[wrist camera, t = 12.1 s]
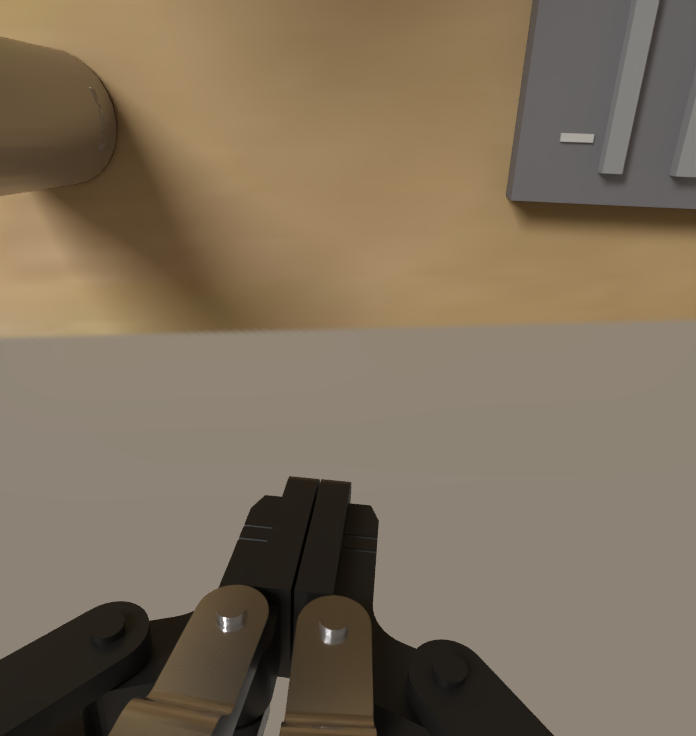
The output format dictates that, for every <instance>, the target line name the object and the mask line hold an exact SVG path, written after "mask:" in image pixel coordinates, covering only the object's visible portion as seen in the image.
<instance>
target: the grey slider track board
mask: <svg viewBox="0 0 696 736" xmlns="http://www.w3.org/2000/svg"><path fill="white" fill-rule="evenodd" d="M506 197H507V198H508V199H510V200H511V201H532V202H553V203H575V204H596V205H617V206H639V207H660V208H682V209H696V0H533V3H532V11H531V18H530V25H529V32H528V40H527V47H526V54H525V61H524V69H523V76H522V83H521V90H520V97H519V105H518V112H517V119H516V126H515V134H514V141H513V148H512V155H511V162H510V170H509V177H508V184H507V191H506Z"/></svg>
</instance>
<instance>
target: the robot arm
mask: <svg viewBox="0 0 696 736" xmlns="http://www.w3.org/2000/svg"><path fill="white" fill-rule="evenodd" d="M116 136H117V134H116V118H115V114H114V109H113V105H112V103H111V100H110V98H109V95H108V93H107V91H106V89H105V88H104V86H103V85H102V83H101V81H100V80H99V78H98V77H97V76H96V75H95V74H94V73H93V71H92V70H91V69H90V68H89V67H88V66H86V65H85V64H84V63H83V62H81V61H80V60H79V59H78V58H76V57H74V56H72V55H70V54H68V53H66V52H64V51H60V50H56V49H52V48H48V47H44V46H39V45H35V44H30V43H26V42H22V41H18V40H13V39H9V38H4V37H0V196H4V195H11V194H17V193H23V192H29V191H36V190H42V189H50V188H56V187H61V186H67V185H73V184H79V183H84V182H86V181H88V180H90V179H92V178H94V177H95V176H97V175H98V174H99V173H100V172H101V171H103V169H104V168H105V166H106V165H107V164H108V162H109V161H110V158H111V156H112V153H113V151H114V148H115V142H116ZM350 500H351V482H344V481H334V480H323V479H322V480H321V482H320V480H319V479H311V478H301V477H291V476H290V477H289V479H288V481H287V484H286V487H285V490H284V493H283V496H282V497H278V496H268V495H265V496H264V497H263V498H262V499H261V500H259V501H258V502H257V503H256V504H255V505H254V506H253V507H252V508H251V510H250V512H249V515H248V517H247V519H246V522H245V526H244V527H243V529H242V532H241V534H240V538H239V540H238V541H237V544H236V547H235V549H234V552H233V554H232V557H231V559H230V561H229V564H228V566H227V568H226V571H225V573H224V576H223V578H222V581H221V583H220V586H219V588H218V589H215V590H213V591H212V592H210V593H208V594H207V595H206V596H205V597H204V598H203V599H202V600H201V601H200V602H199V604H198V605H197V607H196V609H195V611H193V612H191V613H188V614H185V615H181V616H176V617H171V618H164V619H159V620H152V621H149V618H148V616H147V614H146V612H145V610H144V609H142V608H141V607H140V606H138V605H136V604H134V603H131V602H123V601H120V602H119V601H118V602H110V603H106V604H103V605H100V606H97V607H95V608H93V609H91V610H89V611H88V612H86V613H84V614H82V615H80V616H78V617H77V618H75V619H73V620H71V621H69V622H68V623H66V624H64V625H62V626H60V627H59V628H57V629H55V630H53V631H51V632H50V633H48V634H46V635H45V636H42V637H41V638H39V639H37V640H35V641H34V642H32V643H30V644H28V645H26V646H24V647H22V648H21V649H19V650H17V651H15V652H13V653H12V654H10V655H8V656H6V657H4V658H3V659H1V660H0V736H263V734H264V730H265V727H266V724H267V721H268V717H269V713H270V702H271V699H272V695H273V691H274V687H275V683H276V679H277V677H286V678H290V682H289V689H288V696H287V705H286V712H285V719H284V722H282V724H281V728H280V734H279V736H554V735H553V734H552V733H551V732H550V731H549V730H548V729H547V728H546V727H545V726H544V725H543V724H542V723H541V722H540V720H539V719H538V718H537V717H536V716H535V715H534V714H533V713H532V712H531V711H530V710H529V709H528V708H527V707H526V706H525V705H524V704H523V703H522V701H521V700H520V699H518V697H517V696H516V695H515V694H514V693H513V692H512V691H511V690H510V689H509V688H508V687H507V686H506V685H505V684H504V683H503V681H502V680H500V678H499V677H498V676H497V675H496V674H495V673H494V672H493V671H492V670H491V669H490V668H489V667H488V666H487V665H486V663H484V661H483V660H482V659H481V658H480V657H479V656H478V655H477V654H476V653H475V652H473V651H472V650H471V649H469V648H468V647H466V646H464V645H462V644H460V643H457V642H454V641H450V640H433V641H429V642H426V643H424V644H422V645H421V646H419V647H418V648H417V649H415V648H413V647H411V646H408V645H406V644H404V643H401V642H399V641H397V640H395V639H394V638H392V637H391V636H389V635H388V634H387V633H386V632H385V631H384V630H383V629H382V628H381V627H380V625H379V624H378V622H377V621H376V618H375V616H374V612H373V593H374V579H375V565H376V550H377V535H378V523H379V520H378V519H377V517H376V515H375V513H374V511H373V509H372V507H371V506H369V505H359V504H350Z"/></svg>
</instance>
